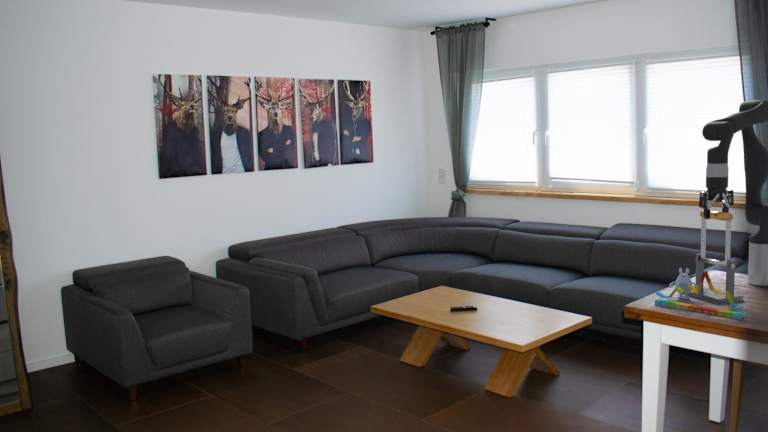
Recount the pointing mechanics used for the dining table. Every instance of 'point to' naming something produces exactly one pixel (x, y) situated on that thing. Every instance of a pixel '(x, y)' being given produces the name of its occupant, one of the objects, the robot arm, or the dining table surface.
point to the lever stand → (712, 296)
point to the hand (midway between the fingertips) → (716, 218)
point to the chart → (701, 308)
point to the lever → (727, 218)
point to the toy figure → (683, 283)
